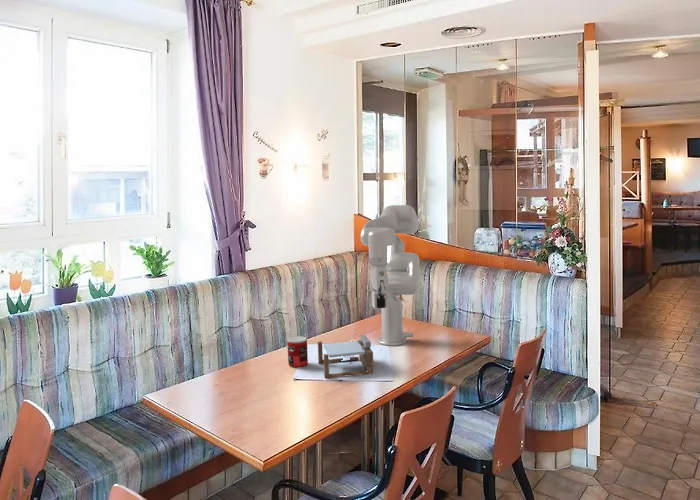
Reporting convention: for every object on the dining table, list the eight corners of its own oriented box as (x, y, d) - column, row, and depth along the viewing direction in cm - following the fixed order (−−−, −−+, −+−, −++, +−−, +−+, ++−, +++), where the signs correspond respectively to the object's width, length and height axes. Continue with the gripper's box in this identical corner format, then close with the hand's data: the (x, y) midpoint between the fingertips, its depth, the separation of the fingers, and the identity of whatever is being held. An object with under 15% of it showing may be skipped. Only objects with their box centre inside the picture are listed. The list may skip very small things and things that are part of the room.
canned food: (288, 362, 241) (287, 336, 239) (307, 361, 242) (306, 335, 240) (288, 368, 233) (286, 342, 232) (308, 367, 234) (307, 341, 232)
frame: (363, 358, 243) (363, 337, 241) (373, 373, 225) (373, 351, 224) (318, 362, 239) (317, 341, 238) (325, 378, 221) (324, 355, 220)
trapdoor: (364, 342, 239) (364, 333, 239) (372, 353, 226) (371, 343, 225) (324, 346, 236) (323, 337, 236) (329, 357, 223) (329, 347, 222)
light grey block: (383, 304, 236) (383, 290, 235) (386, 307, 232) (386, 293, 231) (371, 305, 236) (371, 291, 235) (374, 308, 231) (374, 294, 230)
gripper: (393, 264, 223) (394, 310, 226) (382, 257, 240) (383, 300, 242) (374, 265, 222) (375, 312, 225) (364, 258, 238) (365, 301, 241)
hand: (379, 305), depth 233 cm, fingers closed on light grey block, 5 cm apart
